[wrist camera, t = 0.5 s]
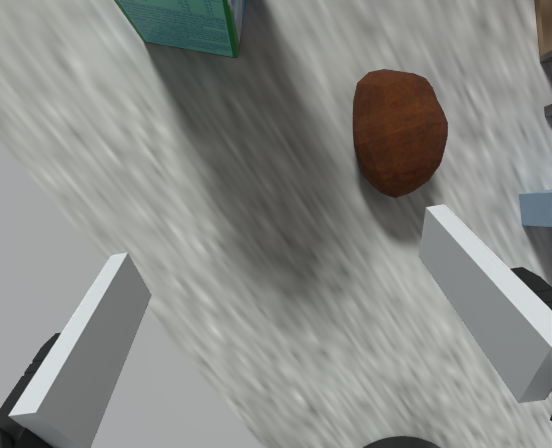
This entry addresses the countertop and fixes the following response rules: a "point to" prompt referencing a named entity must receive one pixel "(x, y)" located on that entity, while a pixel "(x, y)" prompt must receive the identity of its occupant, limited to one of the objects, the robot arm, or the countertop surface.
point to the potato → (397, 130)
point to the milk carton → (188, 23)
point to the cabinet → (544, 35)
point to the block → (536, 208)
